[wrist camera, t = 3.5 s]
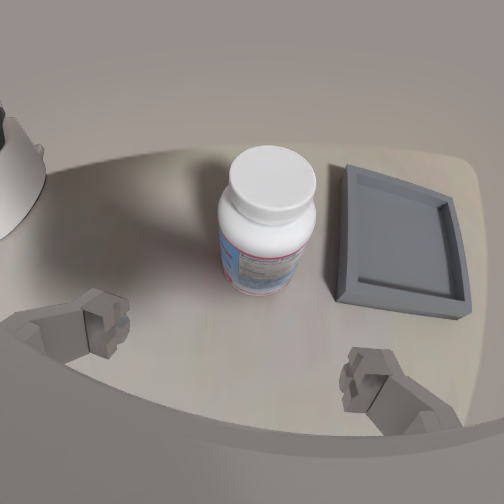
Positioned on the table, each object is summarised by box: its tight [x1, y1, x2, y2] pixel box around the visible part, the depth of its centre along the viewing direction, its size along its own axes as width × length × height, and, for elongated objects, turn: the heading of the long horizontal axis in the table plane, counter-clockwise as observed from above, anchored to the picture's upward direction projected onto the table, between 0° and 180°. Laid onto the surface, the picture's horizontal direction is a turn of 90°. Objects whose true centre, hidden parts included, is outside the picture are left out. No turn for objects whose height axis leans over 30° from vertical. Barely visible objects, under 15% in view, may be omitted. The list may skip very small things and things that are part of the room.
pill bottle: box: [218, 145, 316, 296], centre depth 19 cm, size 6×6×11 cm
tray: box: [336, 164, 472, 320], centre depth 25 cm, size 14×14×2 cm
